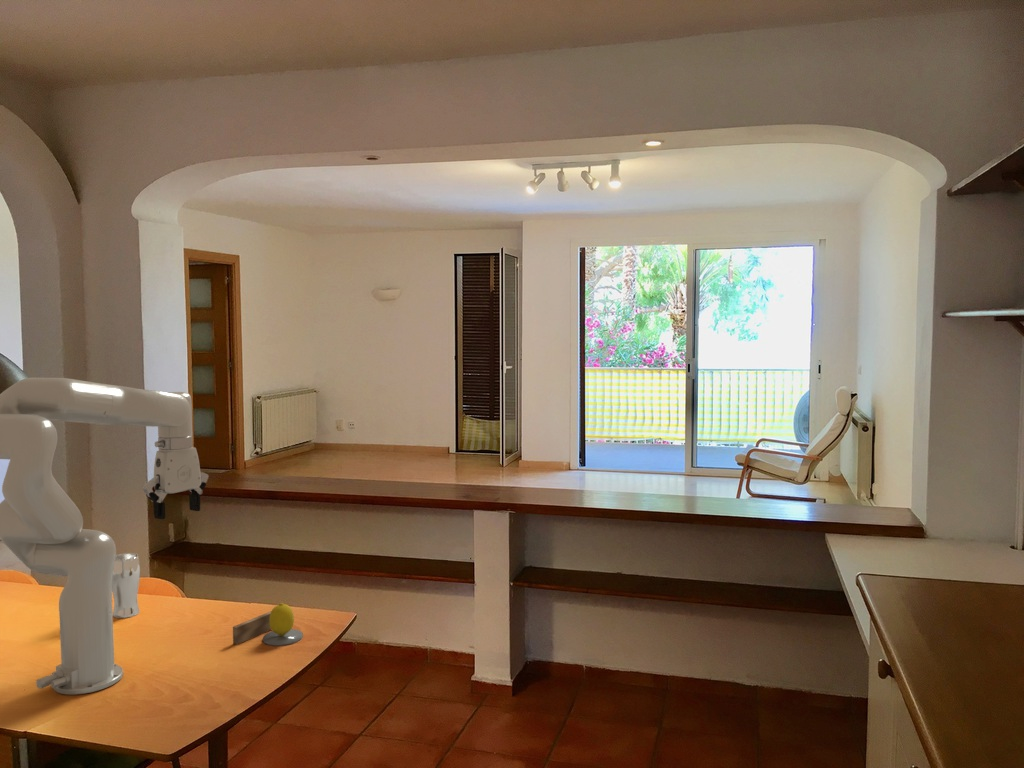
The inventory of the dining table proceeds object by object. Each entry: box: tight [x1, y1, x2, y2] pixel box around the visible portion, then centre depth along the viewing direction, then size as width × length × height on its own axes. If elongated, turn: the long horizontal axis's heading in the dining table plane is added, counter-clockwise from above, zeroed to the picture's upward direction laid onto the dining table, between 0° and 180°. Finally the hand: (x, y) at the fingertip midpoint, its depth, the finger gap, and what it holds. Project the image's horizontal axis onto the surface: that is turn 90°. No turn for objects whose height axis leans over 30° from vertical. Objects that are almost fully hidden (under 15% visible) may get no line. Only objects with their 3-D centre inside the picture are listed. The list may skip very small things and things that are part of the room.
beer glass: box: [112, 552, 141, 619], centre depth 196 cm, size 7×7×15 cm
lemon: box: [269, 602, 295, 636], centre depth 180 cm, size 6×6×8 cm
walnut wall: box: [232, 610, 272, 646], centre depth 184 cm, size 16×1×4 cm, turn 151°
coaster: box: [262, 628, 304, 647], centre depth 181 cm, size 9×9×1 cm
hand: (177, 514), depth 185 cm, fingers open, 9 cm apart
